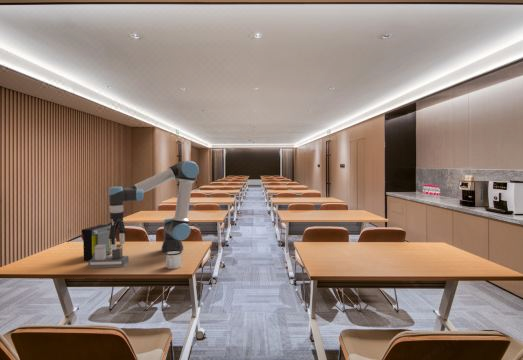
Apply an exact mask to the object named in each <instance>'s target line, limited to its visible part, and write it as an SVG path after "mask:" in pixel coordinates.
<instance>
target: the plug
mask: <svg viewBox="0 0 523 360" xmlns="http://www.w3.org/2000/svg"><path fill="white" fill-rule="evenodd" d="M123 246H124V244H120V243H119V244H117V243H116V250H112V253H111V256H112V260H118V259H122V258H123V256H124V255H123V251H124V250H123Z"/></svg>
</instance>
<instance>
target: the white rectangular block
mask: <svg viewBox="0 0 523 360" xmlns="http://www.w3.org/2000/svg"><path fill="white" fill-rule="evenodd" d="M105 258H106V245H97V246H95V260H104V259H105Z"/></svg>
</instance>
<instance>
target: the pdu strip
mask: <svg viewBox="0 0 523 360" xmlns="http://www.w3.org/2000/svg"><path fill="white" fill-rule="evenodd" d="M129 259H130V258H129V255H123V258H122V259H118V260H112V255H111V256H109V255H107V256H106V258H105V259H104V260H95V257H94V258H92V259H91V260H89V261H87V262H88V263H87V265H88V268H89V269H90V268H91V269H94V268H121V267H125V266H126V265H127V264H128V263H129Z"/></svg>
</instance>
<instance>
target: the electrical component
mask: <svg viewBox="0 0 523 360" xmlns="http://www.w3.org/2000/svg"><path fill="white" fill-rule="evenodd" d="M110 227H111V224H97V225H94V226H91V227H88V228H83V229H81V234H82V235H80V238H81V239H82V241H83V245H82V247H83V261H84V262H88V261H89V260H91V259H92V258H94V257H95V246H97V245H106V256H109V255H112V250H111V239H109V234H110Z"/></svg>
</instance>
